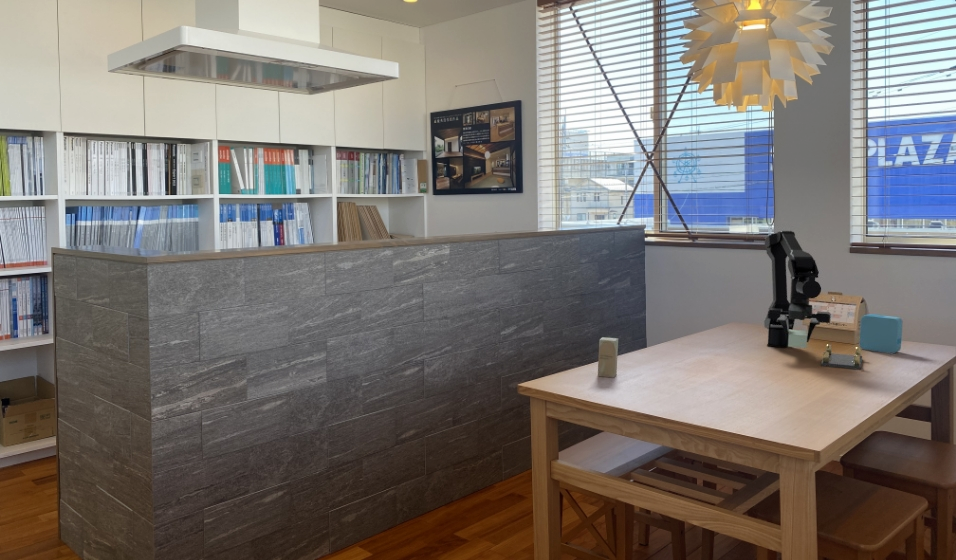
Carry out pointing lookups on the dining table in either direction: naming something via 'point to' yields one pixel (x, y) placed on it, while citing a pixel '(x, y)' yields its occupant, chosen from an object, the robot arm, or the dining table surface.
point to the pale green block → (797, 338)
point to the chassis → (842, 359)
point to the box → (608, 357)
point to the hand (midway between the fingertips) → (797, 341)
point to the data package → (881, 333)
